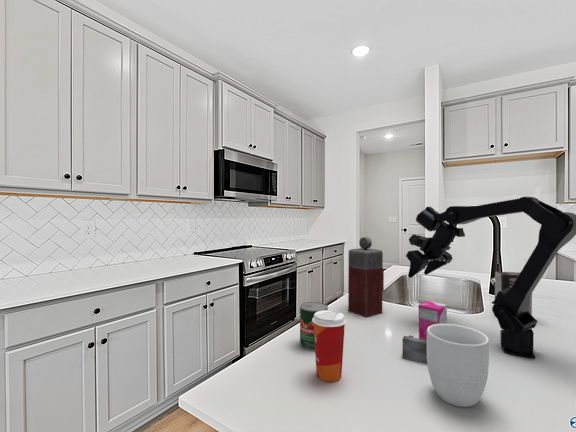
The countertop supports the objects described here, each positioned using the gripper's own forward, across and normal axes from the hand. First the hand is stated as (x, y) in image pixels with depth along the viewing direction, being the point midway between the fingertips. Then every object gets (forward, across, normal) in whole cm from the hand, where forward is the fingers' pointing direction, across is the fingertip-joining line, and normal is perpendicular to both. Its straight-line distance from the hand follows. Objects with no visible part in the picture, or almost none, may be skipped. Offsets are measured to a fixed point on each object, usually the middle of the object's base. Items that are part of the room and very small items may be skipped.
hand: (417, 275), depth 106 cm
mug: (-4, +34, +34) cm, 48 cm away
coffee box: (+2, -27, +24) cm, 36 cm away
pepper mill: (+21, +9, -4) cm, 23 cm away
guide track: (+3, +22, +23) cm, 32 cm away
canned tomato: (+15, +43, +5) cm, 46 cm away
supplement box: (+5, +15, +21) cm, 26 cm away
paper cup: (+7, +51, +18) cm, 54 cm away
